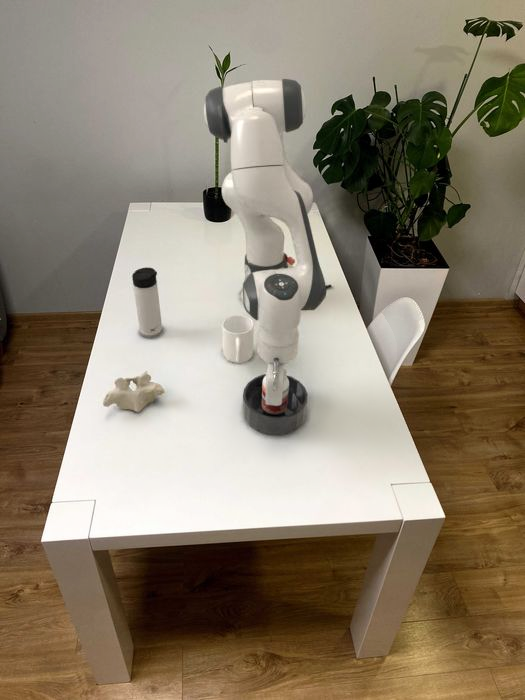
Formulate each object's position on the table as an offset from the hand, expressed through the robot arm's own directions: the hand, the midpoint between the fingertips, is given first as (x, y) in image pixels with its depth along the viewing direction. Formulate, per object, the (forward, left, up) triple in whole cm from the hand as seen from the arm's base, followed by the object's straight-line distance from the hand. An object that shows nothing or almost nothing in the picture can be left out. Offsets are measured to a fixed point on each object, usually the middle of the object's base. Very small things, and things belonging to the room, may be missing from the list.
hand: (275, 390), depth 128 cm
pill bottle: (0, 0, -5) cm, 5 cm away
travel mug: (+14, -44, -8) cm, 47 cm away
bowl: (0, 0, -7) cm, 7 cm away
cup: (-2, -22, -8) cm, 23 cm away
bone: (+27, -19, -8) cm, 34 cm away
